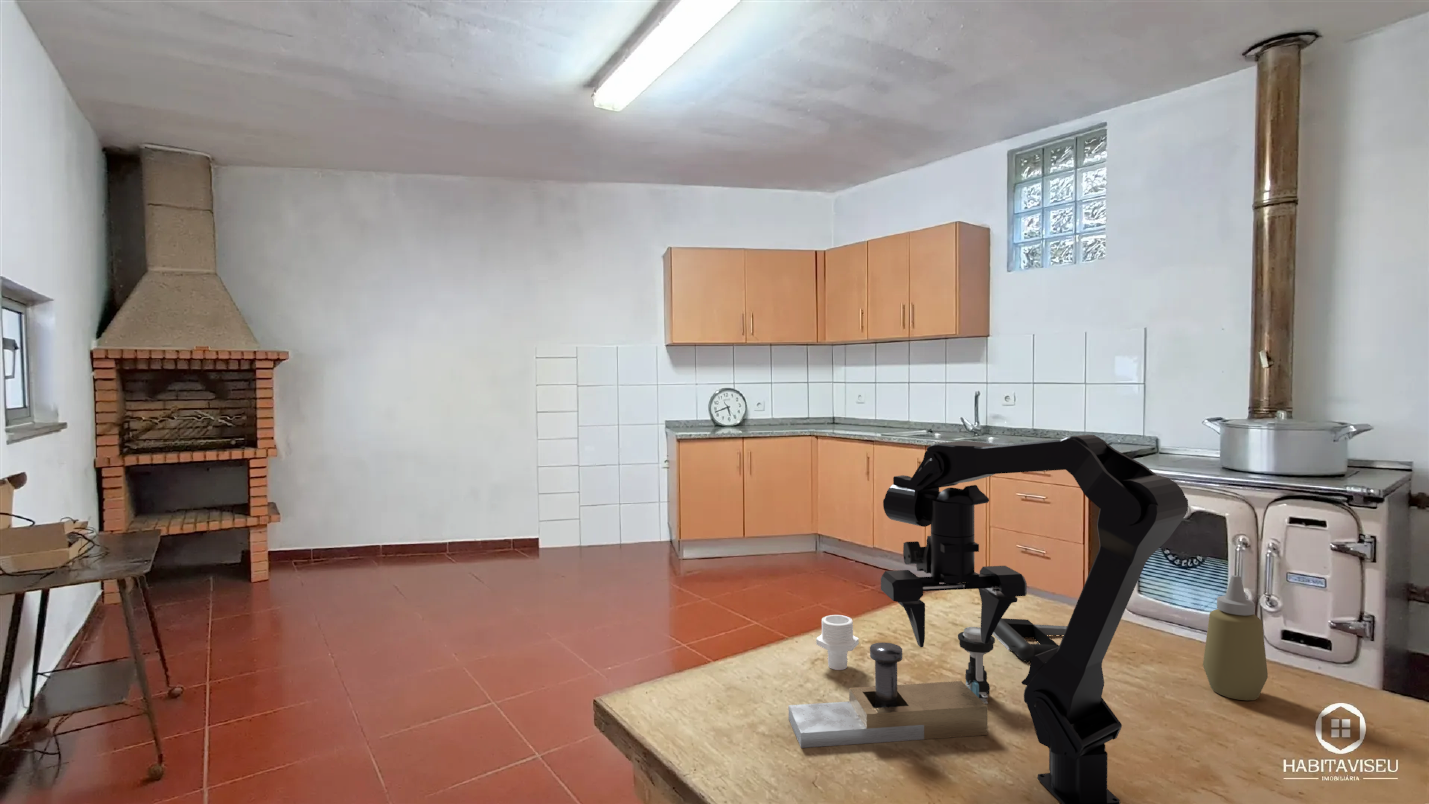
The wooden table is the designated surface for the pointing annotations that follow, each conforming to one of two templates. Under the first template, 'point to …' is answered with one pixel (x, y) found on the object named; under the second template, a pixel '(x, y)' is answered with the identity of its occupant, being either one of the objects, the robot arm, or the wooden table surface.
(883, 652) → the metal knob
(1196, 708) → the wooden table surface
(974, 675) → the push button
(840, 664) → the pipe fitting
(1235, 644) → the squeeze bottle
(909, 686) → the tan and silver block
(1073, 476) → the robot arm
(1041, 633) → the black frame
